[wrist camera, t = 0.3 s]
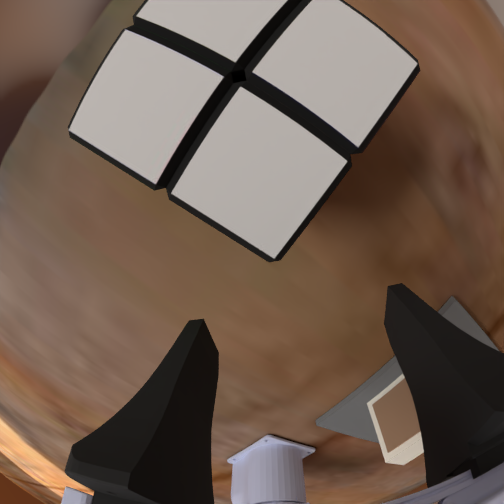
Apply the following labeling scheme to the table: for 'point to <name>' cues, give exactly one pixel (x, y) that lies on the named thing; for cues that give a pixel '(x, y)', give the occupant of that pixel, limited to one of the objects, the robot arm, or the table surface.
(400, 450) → the cream slab
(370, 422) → the rubber mat
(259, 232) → the puzzle cube
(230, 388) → the table surface
